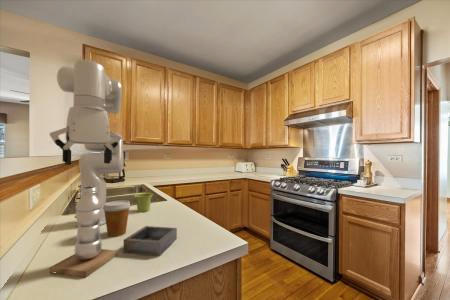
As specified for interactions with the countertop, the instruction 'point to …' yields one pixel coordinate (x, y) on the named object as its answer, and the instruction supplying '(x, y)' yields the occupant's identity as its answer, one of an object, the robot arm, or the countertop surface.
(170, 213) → the countertop surface
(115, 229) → the disposable coffee cup
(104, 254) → the walnut coaster
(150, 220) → the countertop surface
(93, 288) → the countertop surface
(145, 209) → the plant pot
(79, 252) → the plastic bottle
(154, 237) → the tray
